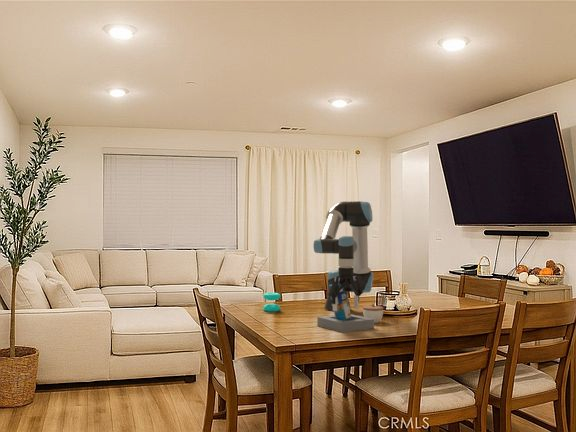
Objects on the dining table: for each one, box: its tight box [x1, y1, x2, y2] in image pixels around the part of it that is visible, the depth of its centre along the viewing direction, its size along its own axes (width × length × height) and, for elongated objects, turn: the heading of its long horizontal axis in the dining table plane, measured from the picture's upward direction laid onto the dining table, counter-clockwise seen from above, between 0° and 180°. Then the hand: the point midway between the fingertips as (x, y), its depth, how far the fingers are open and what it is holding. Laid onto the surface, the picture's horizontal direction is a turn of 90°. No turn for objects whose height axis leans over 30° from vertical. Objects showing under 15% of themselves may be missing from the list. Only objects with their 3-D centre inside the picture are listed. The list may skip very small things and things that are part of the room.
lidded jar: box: [362, 303, 384, 324], centre depth 317 cm, size 11×11×9 cm
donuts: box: [262, 292, 281, 313], centre depth 351 cm, size 10×10×10 cm
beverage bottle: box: [329, 283, 352, 321], centre depth 303 cm, size 8×8×20 cm
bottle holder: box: [316, 313, 375, 333], centre depth 302 cm, size 20×20×4 cm
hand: (345, 309), depth 302 cm, fingers open, 13 cm apart
